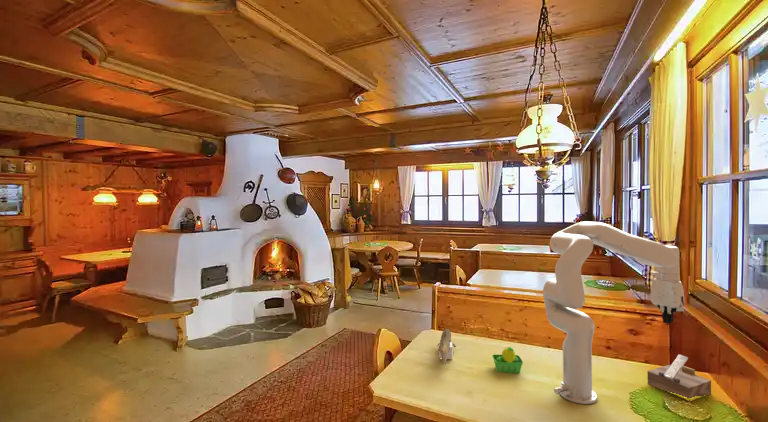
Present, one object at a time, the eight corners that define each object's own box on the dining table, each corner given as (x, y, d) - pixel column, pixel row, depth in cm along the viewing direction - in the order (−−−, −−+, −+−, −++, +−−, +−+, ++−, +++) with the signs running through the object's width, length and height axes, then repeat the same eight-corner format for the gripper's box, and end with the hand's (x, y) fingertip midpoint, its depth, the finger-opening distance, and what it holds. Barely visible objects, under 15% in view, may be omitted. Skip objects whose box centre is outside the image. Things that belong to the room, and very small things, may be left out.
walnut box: (689, 402, 127) (689, 383, 126) (647, 383, 140) (647, 366, 139) (711, 393, 131) (711, 375, 131) (668, 376, 144) (668, 360, 144)
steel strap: (673, 380, 132) (672, 378, 132) (664, 376, 135) (663, 375, 134) (688, 358, 135) (687, 357, 135) (679, 355, 138) (678, 354, 138)
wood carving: (433, 376, 150) (432, 349, 150) (438, 343, 184) (438, 322, 184) (455, 377, 148) (454, 351, 148) (456, 344, 183) (455, 322, 182)
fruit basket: (518, 366, 157) (518, 340, 157) (524, 376, 148) (524, 349, 148) (492, 365, 158) (491, 340, 158) (496, 375, 150) (495, 348, 149)
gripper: (641, 274, 147) (642, 318, 147) (683, 281, 133) (683, 330, 133) (653, 272, 150) (653, 315, 150) (695, 279, 136) (695, 327, 136)
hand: (667, 322), depth 142 cm, fingers closed
